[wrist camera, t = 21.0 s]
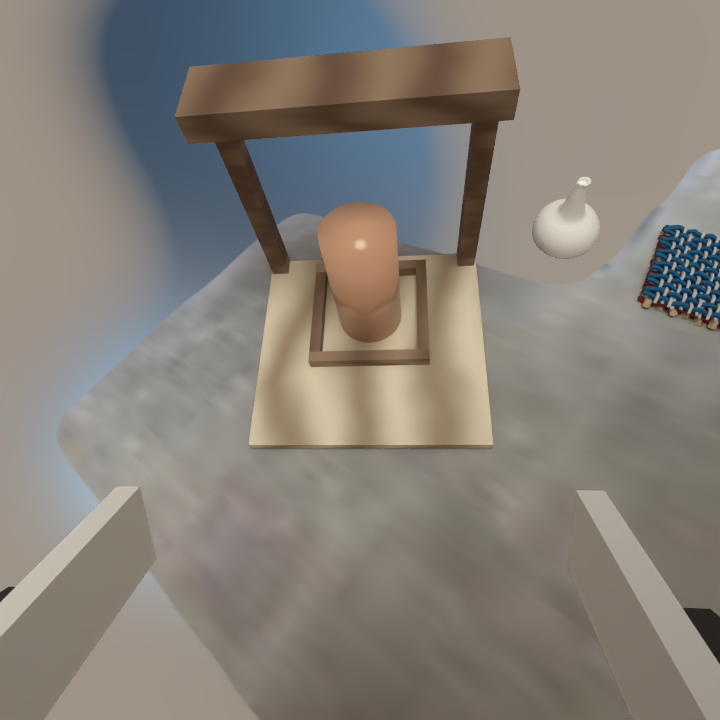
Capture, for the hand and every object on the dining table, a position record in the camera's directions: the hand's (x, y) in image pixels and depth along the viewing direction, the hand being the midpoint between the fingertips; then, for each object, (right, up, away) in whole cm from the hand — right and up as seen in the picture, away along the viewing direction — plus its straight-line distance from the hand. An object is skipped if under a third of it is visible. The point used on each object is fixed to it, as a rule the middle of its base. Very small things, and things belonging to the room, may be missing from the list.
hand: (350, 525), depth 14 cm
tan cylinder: (+1, +9, +32) cm, 33 cm away
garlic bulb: (+21, +18, +35) cm, 45 cm away
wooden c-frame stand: (+1, +6, +32) cm, 32 cm away
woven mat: (+33, +12, +32) cm, 47 cm away
